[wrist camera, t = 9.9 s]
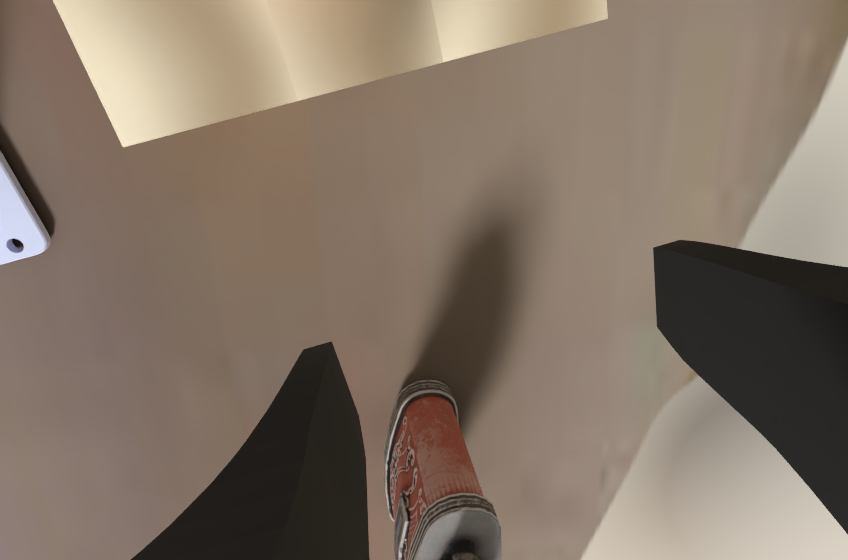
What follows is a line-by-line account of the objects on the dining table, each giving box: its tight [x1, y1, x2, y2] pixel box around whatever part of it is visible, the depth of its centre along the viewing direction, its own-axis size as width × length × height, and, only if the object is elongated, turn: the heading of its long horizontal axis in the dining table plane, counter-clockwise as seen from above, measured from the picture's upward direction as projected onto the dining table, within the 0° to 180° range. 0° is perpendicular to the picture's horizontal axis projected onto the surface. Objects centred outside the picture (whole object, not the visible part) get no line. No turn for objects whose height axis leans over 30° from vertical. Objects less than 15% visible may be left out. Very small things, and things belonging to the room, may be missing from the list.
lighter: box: [384, 380, 502, 560], centre depth 22 cm, size 8×3×10 cm, turn 174°
